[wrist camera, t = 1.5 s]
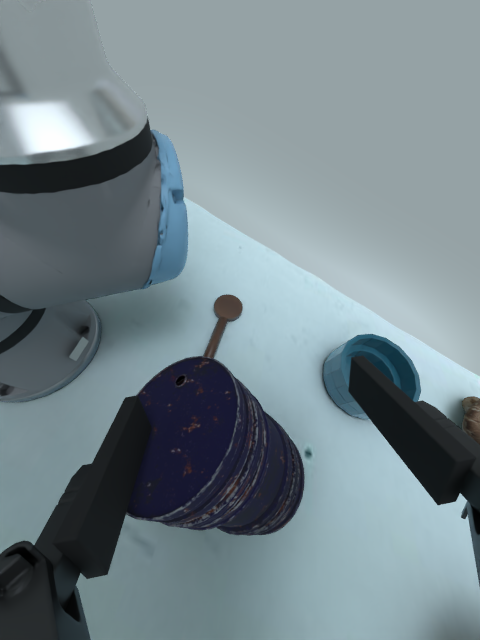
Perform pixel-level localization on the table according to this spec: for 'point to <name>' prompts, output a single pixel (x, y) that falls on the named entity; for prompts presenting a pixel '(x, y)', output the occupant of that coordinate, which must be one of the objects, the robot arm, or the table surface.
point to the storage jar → (213, 455)
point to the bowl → (382, 357)
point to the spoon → (223, 320)
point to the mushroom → (472, 417)
